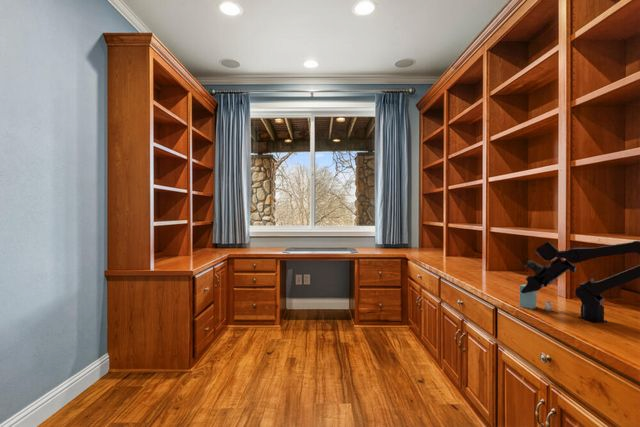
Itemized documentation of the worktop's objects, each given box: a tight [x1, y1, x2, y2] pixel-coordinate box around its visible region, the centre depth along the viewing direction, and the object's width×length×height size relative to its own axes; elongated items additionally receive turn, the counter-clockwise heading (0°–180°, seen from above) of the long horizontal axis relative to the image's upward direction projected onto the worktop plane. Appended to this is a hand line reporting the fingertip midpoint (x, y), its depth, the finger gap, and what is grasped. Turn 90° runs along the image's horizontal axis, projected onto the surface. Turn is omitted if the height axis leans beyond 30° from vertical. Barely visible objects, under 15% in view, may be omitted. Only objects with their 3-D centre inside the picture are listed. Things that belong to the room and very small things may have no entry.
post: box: [543, 300, 553, 313], centre depth 137 cm, size 3×3×4 cm
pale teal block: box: [519, 283, 538, 310], centre depth 143 cm, size 5×5×9 cm
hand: (524, 291), depth 144 cm, fingers open, 7 cm apart
